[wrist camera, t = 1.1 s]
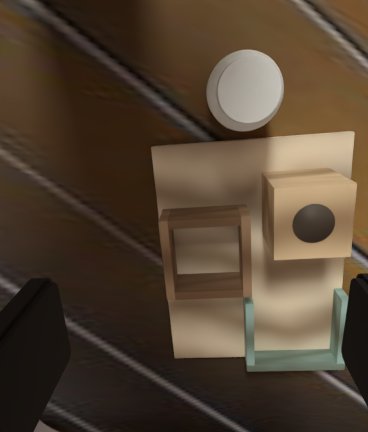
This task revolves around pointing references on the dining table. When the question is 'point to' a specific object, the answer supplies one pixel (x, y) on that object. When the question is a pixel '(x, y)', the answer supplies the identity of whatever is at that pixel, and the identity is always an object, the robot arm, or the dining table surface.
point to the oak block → (308, 213)
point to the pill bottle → (245, 90)
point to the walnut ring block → (206, 282)
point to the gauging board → (253, 256)
